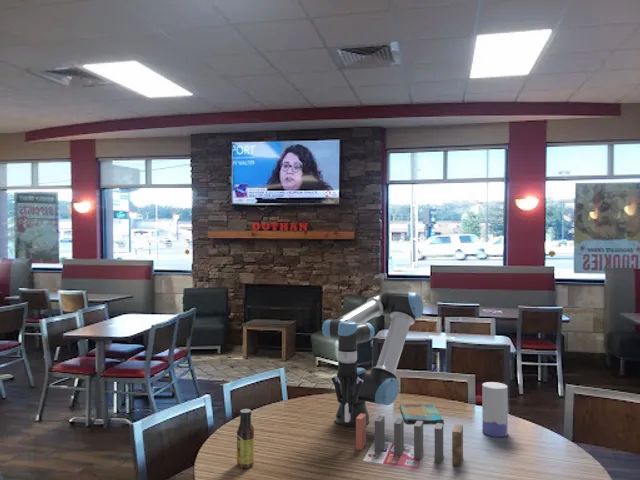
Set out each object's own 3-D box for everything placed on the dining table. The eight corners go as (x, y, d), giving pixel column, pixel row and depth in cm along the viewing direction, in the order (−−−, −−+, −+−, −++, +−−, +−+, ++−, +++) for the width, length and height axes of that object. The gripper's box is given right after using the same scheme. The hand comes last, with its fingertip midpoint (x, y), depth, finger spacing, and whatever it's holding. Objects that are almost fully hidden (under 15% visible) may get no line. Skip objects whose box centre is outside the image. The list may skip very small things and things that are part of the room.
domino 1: (374, 452, 193) (374, 420, 193) (378, 446, 199) (378, 415, 199) (380, 453, 192) (380, 421, 192) (384, 447, 198) (384, 416, 198)
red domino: (366, 444, 200) (366, 414, 200) (361, 450, 195) (361, 419, 195) (360, 443, 201) (360, 413, 201) (355, 449, 196) (355, 418, 196)
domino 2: (394, 455, 190) (394, 423, 190) (397, 449, 196) (397, 417, 196) (400, 456, 189) (400, 423, 189) (403, 449, 195) (403, 418, 195)
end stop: (452, 465, 182) (452, 431, 182) (454, 456, 189) (454, 424, 189) (460, 466, 181) (460, 432, 181) (462, 457, 188) (462, 425, 188)
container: (507, 429, 216) (507, 382, 216) (507, 438, 206) (507, 389, 206) (482, 427, 219) (482, 380, 219) (482, 435, 209) (482, 387, 209)
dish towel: (405, 424, 223) (405, 419, 223) (398, 407, 246) (398, 402, 246) (444, 425, 223) (444, 419, 223) (434, 407, 246) (434, 402, 246)
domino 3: (414, 458, 188) (413, 425, 188) (416, 451, 193) (416, 420, 193) (420, 459, 187) (420, 426, 187) (423, 452, 192) (423, 421, 192)
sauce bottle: (237, 461, 185) (237, 407, 185) (254, 461, 185) (254, 406, 185) (235, 469, 178) (235, 413, 178) (253, 469, 179) (253, 412, 179)
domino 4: (434, 461, 185) (434, 428, 185) (436, 454, 191) (436, 422, 191) (441, 462, 184) (441, 429, 184) (443, 455, 190) (443, 423, 190)
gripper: (328, 361, 199) (328, 421, 199) (360, 364, 194) (360, 426, 194) (335, 357, 206) (335, 415, 206) (366, 360, 201) (366, 420, 201)
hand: (347, 420), depth 200 cm, fingers closed
